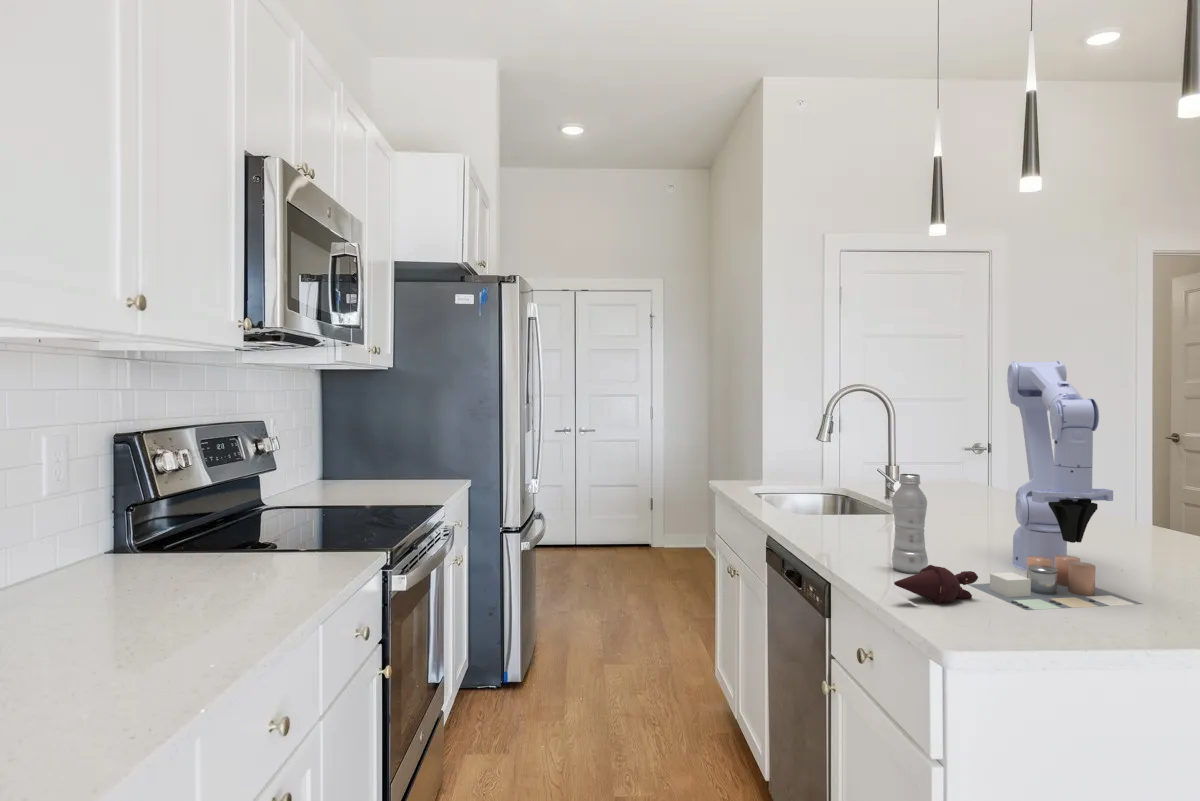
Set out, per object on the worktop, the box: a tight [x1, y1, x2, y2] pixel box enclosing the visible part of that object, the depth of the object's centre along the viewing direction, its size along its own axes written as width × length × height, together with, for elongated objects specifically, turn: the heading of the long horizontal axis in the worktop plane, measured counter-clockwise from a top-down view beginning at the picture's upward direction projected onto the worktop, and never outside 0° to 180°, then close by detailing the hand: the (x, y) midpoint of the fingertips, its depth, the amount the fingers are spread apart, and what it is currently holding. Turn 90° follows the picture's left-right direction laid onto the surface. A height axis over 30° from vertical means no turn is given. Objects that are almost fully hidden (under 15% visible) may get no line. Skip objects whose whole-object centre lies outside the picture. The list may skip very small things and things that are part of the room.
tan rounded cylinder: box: [1068, 561, 1097, 596], centre depth 126 cm, size 4×4×5 cm
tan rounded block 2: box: [1055, 554, 1081, 587], centre depth 132 cm, size 4×4×5 cm
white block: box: [989, 572, 1031, 597], centre depth 126 cm, size 4×4×3 cm
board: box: [967, 582, 1144, 611], centre depth 126 cm, size 15×22×1 cm
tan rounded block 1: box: [1026, 556, 1052, 578], centre depth 131 cm, size 4×4×5 cm
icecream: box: [893, 564, 979, 605], centre depth 122 cm, size 7×7×15 cm
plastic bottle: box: [891, 473, 929, 575], centre depth 142 cm, size 6×7×20 cm
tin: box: [1028, 565, 1058, 595], centre depth 127 cm, size 5×5×4 cm
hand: (1072, 541), depth 126 cm, fingers closed
